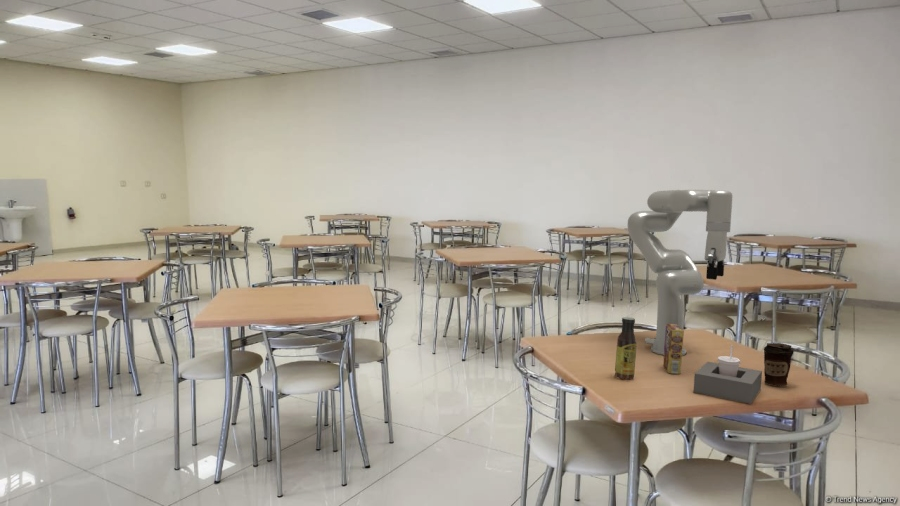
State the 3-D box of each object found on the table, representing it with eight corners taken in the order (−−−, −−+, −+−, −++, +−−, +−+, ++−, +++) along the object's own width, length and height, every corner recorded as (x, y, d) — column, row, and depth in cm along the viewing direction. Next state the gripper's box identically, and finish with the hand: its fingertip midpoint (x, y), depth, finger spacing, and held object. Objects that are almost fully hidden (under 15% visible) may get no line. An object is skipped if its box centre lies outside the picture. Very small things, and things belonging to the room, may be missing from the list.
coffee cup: (790, 390, 186) (793, 349, 185) (760, 385, 190) (763, 345, 189) (791, 383, 193) (794, 343, 192) (762, 378, 198) (765, 340, 196)
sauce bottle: (624, 381, 193) (627, 321, 191) (610, 375, 198) (613, 317, 196) (639, 378, 196) (642, 319, 194) (625, 373, 201) (628, 315, 199)
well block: (693, 392, 183) (694, 373, 183) (706, 379, 196) (707, 361, 195) (750, 404, 174) (752, 384, 173) (760, 389, 187) (761, 370, 186)
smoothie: (741, 393, 181) (744, 348, 180) (718, 391, 182) (721, 347, 181) (735, 386, 187) (738, 343, 186) (713, 385, 189) (716, 341, 187)
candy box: (681, 374, 201) (684, 330, 199) (668, 373, 201) (670, 329, 200) (675, 366, 210) (677, 324, 208) (662, 366, 210) (665, 323, 208)
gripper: (712, 225, 210) (709, 273, 212) (699, 228, 197) (696, 279, 199) (735, 226, 206) (732, 275, 208) (724, 229, 192) (720, 281, 194)
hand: (714, 277), depth 203 cm, fingers open, 9 cm apart
